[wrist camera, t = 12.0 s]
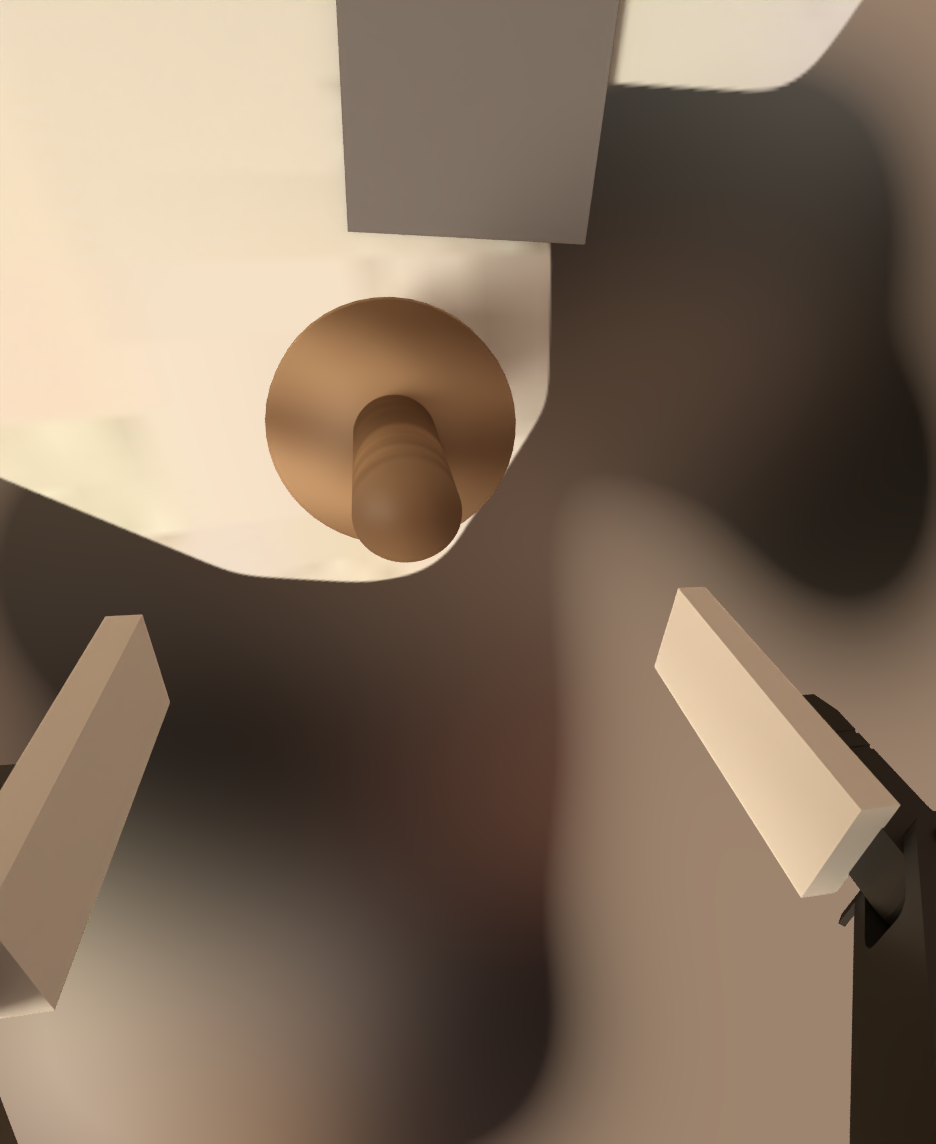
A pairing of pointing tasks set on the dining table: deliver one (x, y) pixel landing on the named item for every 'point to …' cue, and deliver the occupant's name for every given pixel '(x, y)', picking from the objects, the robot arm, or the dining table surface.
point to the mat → (473, 115)
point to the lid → (390, 424)
